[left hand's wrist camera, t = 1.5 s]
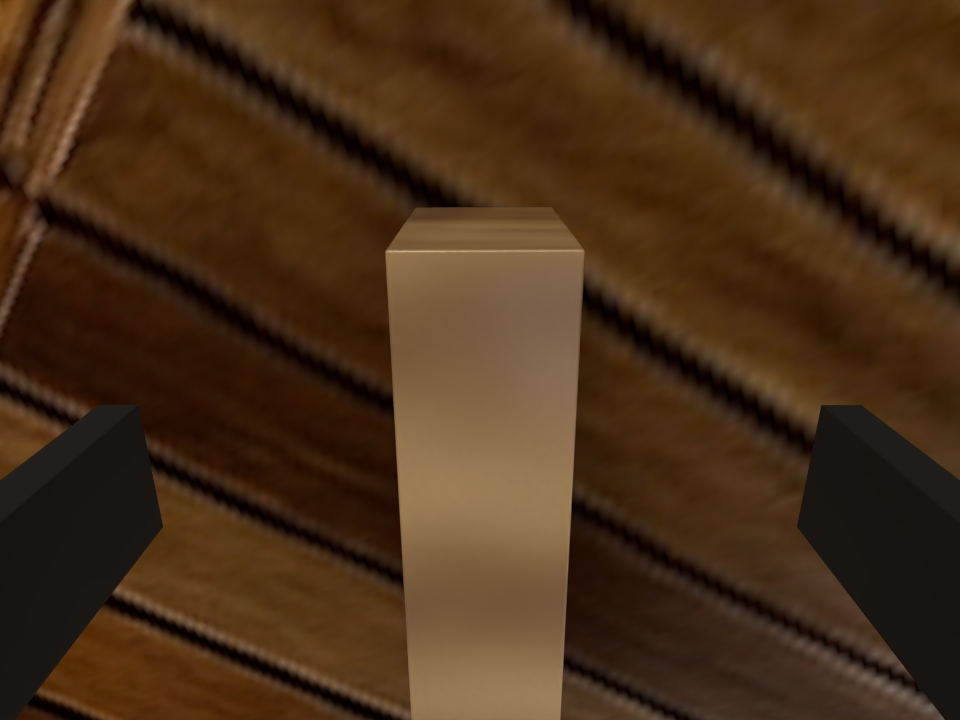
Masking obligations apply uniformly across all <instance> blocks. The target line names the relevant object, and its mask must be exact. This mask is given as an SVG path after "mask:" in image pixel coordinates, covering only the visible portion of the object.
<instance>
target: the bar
mask: <svg viewBox="0 0 960 720" xmlns="http://www.w3.org/2000/svg"><path fill="white" fill-rule="evenodd" d="M385 259H386V277H387V295H388V313H389V330H390V348H391V366H392V384H393V402H394V420H395V438H396V455H397V473H398V491H399V509H400V527H401V545H402V563H403V580H404V598H405V616H406V634H407V652H408V670H409V688H410V705H411V720H560V717H561V698H562V679H563V660H564V641H565V622H566V603H567V584H568V565H569V546H570V526H571V507H572V488H573V469H574V450H575V431H576V412H577V393H578V374H579V355H580V336H581V316H582V297H583V278H584V259H585V251H584V249H583V248H582V246H581V245H580V244H579V242H578V241H577V240H576V238H575V237H574V236H573V234H572V233H571V232H570V230H569V229H568V228H567V226H566V225H565V224H564V223H563V221H562V220H561V219H560V217H559V216H558V215H557V213H556V212H555V211H554V209H553V208H552V207H452V208H415V209H414V211H413V212H412V214H411V215H410V216H409V218H408V219H407V221H406V222H405V224H404V225H403V227H402V228H401V229H400V231H399V232H398V234H397V235H396V237H395V238H394V240H393V241H392V242H391V244H390V245H389V247H388V248H387V250H386V252H385Z"/></svg>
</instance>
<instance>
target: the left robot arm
mask: <svg viewBox="0 0 960 720" xmlns="http://www.w3.org/2000/svg"><path fill="white" fill-rule="evenodd" d="M162 527H163V524H162V519H161V514H160V509H159V505H158V500H157V495H156V490H155V485H154V480H153V475H152V470H151V465H150V460H149V455H148V450H147V445H146V440H145V435H144V430H143V425H142V420H141V415H140V411H139V406H138V405H98V406H97V407H96V408H94V409H93V410H92V411H90V412H89V413H88V414H87V415H85V416H84V417H83V418H81V419H80V420H79V421H77V422H76V423H75V424H73V425H72V426H71V427H70V428H68V429H67V430H66V431H64V432H63V433H62V434H60V435H59V436H58V437H56V438H55V439H54V440H53V441H51V442H50V443H49V444H47V445H46V446H45V447H43V448H42V449H41V450H39V451H38V452H37V453H36V454H34V455H33V456H32V457H30V458H29V459H28V460H26V461H25V462H24V463H22V464H21V465H20V466H19V467H17V468H16V469H15V470H13V471H12V472H11V473H9V474H8V475H7V476H6V477H4V478H3V479H2V480H0V720H15V719H16V718H17V716H18V715H19V714H20V712H21V711H22V710H23V708H24V707H25V706H26V705H27V703H28V702H29V701H30V699H31V698H32V697H33V695H34V694H35V693H36V692H37V690H38V689H39V688H40V686H41V685H42V684H43V682H44V681H45V680H46V678H47V677H48V676H49V675H50V673H51V672H52V671H53V669H54V668H55V667H56V665H57V664H58V663H59V662H60V660H61V659H62V658H63V656H64V655H65V654H66V652H67V651H68V650H69V648H70V647H71V646H72V645H73V643H74V642H75V641H76V639H77V638H78V637H79V635H80V634H81V633H82V632H83V630H84V629H85V628H86V626H87V625H88V624H89V622H90V621H91V620H92V619H93V617H94V616H95V615H96V613H97V612H98V611H99V609H100V608H101V607H102V605H103V604H104V603H105V602H106V600H107V599H108V598H109V596H110V595H111V594H112V592H113V591H114V590H115V589H116V587H117V586H118V585H119V583H120V582H121V581H122V579H123V578H124V577H125V575H126V574H127V573H128V572H129V570H130V569H131V568H132V566H133V565H134V564H135V562H136V561H137V560H138V559H139V557H140V556H141V555H142V553H143V552H144V551H145V549H146V548H147V547H148V546H149V544H150V543H151V542H152V540H153V539H154V538H155V536H156V535H157V534H158V532H159V531H160V530H161V529H162ZM797 527H798V529H799V530H800V531H801V532H802V534H803V535H804V536H805V538H806V539H807V540H808V542H809V543H810V544H811V546H812V547H813V548H814V549H815V551H816V552H817V553H818V555H819V556H820V557H821V559H822V560H823V561H824V562H825V564H826V565H827V566H828V568H829V569H830V570H831V572H832V573H833V574H834V575H835V577H836V578H837V579H838V581H839V582H840V583H841V585H842V586H843V587H844V589H845V590H846V591H847V592H848V594H849V595H850V596H851V598H852V599H853V600H854V602H855V603H856V604H857V605H858V607H859V608H860V609H861V611H862V612H863V613H864V615H865V616H866V617H867V619H868V620H869V621H870V622H871V624H872V625H873V626H874V628H875V629H876V630H877V632H878V633H879V634H880V635H881V637H882V638H883V639H884V641H885V642H886V643H887V645H888V646H889V647H890V649H891V650H892V651H893V652H894V654H895V655H896V656H897V658H898V659H899V660H900V662H901V663H902V664H903V665H904V667H905V668H906V669H907V671H908V672H909V673H910V675H911V676H912V677H913V678H914V680H915V681H916V682H917V684H918V685H919V686H920V688H921V689H922V690H923V692H924V693H925V694H926V695H927V697H928V698H929V699H930V701H931V702H932V703H933V705H934V706H935V707H936V708H937V710H938V711H939V712H940V714H941V715H942V716H943V718H944V719H945V720H960V480H958V479H957V478H956V477H954V476H953V475H952V474H951V473H949V472H948V471H947V470H945V469H944V468H943V467H941V466H940V465H939V464H938V463H936V462H935V461H934V460H932V459H931V458H930V457H928V456H927V455H926V454H924V453H923V452H922V451H921V450H919V449H918V448H917V447H915V446H914V445H913V444H911V443H910V442H909V441H907V440H906V439H905V438H904V437H902V436H901V435H900V434H898V433H897V432H896V431H894V430H893V429H892V428H890V427H889V426H888V425H887V424H885V423H884V422H883V421H881V420H880V419H879V418H877V417H876V416H875V415H873V414H872V413H871V412H870V411H868V410H867V409H866V408H864V407H863V406H862V405H822V406H821V411H820V415H819V420H818V425H817V430H816V435H815V440H814V445H813V450H812V455H811V460H810V465H809V470H808V475H807V480H806V485H805V490H804V495H803V500H802V505H801V509H800V514H799V519H798V524H797Z"/></svg>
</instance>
